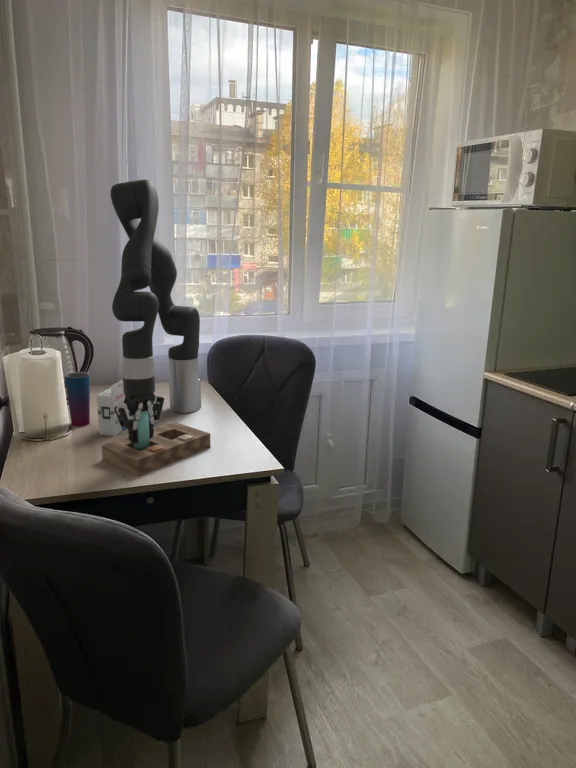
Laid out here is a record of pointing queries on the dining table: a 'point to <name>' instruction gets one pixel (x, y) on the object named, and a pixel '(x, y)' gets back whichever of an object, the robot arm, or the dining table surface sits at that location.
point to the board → (156, 448)
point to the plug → (143, 432)
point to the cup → (78, 397)
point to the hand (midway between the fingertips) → (141, 439)
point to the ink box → (110, 409)
